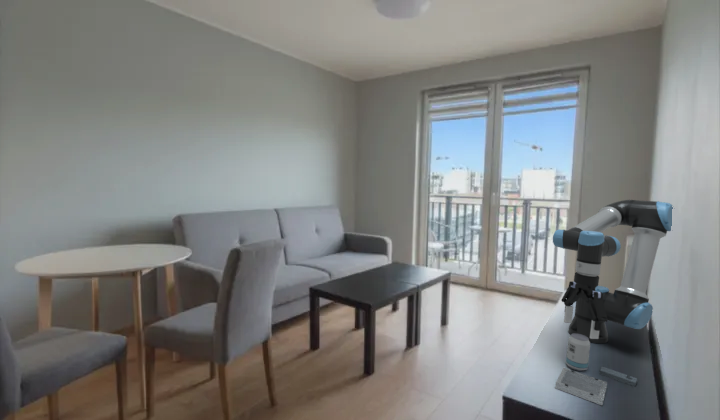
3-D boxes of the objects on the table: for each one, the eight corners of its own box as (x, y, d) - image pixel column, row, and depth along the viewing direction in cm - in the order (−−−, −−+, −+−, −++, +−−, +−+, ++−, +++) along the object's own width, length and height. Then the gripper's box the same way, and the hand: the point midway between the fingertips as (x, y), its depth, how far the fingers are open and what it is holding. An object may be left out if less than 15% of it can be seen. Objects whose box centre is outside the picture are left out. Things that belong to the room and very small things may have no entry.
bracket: (601, 371, 131) (601, 366, 131) (636, 383, 123) (637, 378, 123) (599, 375, 128) (599, 369, 128) (635, 388, 121) (635, 382, 120)
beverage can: (590, 373, 127) (594, 342, 126) (570, 371, 129) (573, 339, 128) (582, 364, 134) (585, 333, 133) (562, 361, 135) (565, 331, 134)
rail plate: (562, 372, 127) (563, 367, 127) (606, 387, 119) (607, 382, 119) (555, 388, 117) (555, 382, 117) (602, 405, 109) (603, 399, 109)
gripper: (555, 264, 140) (549, 316, 142) (604, 283, 115) (596, 345, 117) (573, 265, 141) (566, 317, 143) (625, 284, 116) (617, 346, 118)
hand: (580, 330), depth 130 cm, fingers open, 13 cm apart
